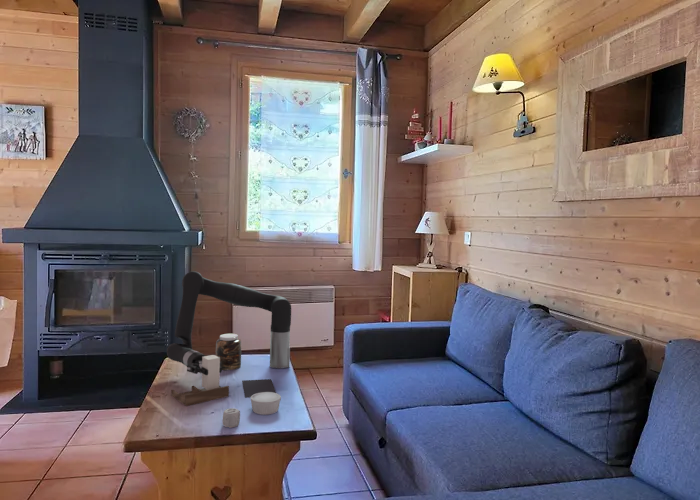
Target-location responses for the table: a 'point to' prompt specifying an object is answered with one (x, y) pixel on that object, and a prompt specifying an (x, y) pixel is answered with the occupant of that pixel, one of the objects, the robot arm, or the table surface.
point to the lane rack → (200, 395)
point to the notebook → (257, 387)
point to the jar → (229, 351)
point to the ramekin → (265, 403)
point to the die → (231, 417)
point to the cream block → (211, 372)
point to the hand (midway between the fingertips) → (213, 371)
